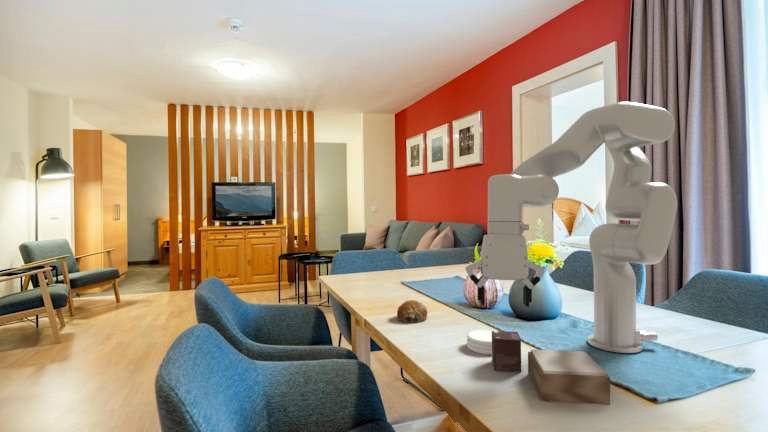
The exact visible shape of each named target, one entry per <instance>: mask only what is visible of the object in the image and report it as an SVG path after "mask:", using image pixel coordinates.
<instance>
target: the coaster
mask: <svg viewBox="0 0 768 432" xmlns="http://www.w3.org/2000/svg"><path fill="white" fill-rule="evenodd" d="M492 331H493V330H492V329H491V330H489V329H475V330H471V331H470V332H468V333H467V335H466V347H467V348H468V350H470V351H471V352H473V353H477V354H480V355H487V356H488V355H489V356H490V355H491V356H492Z"/></svg>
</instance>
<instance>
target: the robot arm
mask: <svg viewBox="0 0 768 432" xmlns="http://www.w3.org/2000/svg"><path fill="white" fill-rule="evenodd" d="M675 129H676V123H675V119H674V116H673V115H672V114H671V112H670V111H669V110H667V109H666V108H662V107H660V106H654V105H649V104H644V103H639V102H633V101H632V102H631V101H620V102H614V103H611V104H607V105H603V106H600V107H597V108H596V107H595V108H592V109H590V110H588V111H586V112H584V113H583V114H582V115H581V116H580V117H579V118H577V120H576V121H575V122H574V123H572V125H570V126H569V128H568V129H566V130H565V132H563V134H561V136H559V138H557V139H556V141H554V142H553V143H551V144H550V145H548V146H546V147H545V148H543V149H541V150H540V151H539V152H537V153H535V154H534V155H532V156H530V157H528V158H527V159H526V160H524V161H523V162H522V163H520V164H519V165H518V166H517V167H516V168H515V169H514V170H512V172H510V174H509V173H505V174H496V175H495V174H494V175H491V176H490V177H489V178H488V180H487V234H484V235H483V238H482V243H481V252H480V253H481V254H480V255H481V256H480V259H479V260H477V261H475V262H473V263H470V264H469V265H467V266H465V268H464V269H465V271H466V273H467V275H468V277H469V279H470V280H471V281H472V282H473V284H474V285H476V286H477V294H476V295H477V301H479V303H480V305H481V306H485V303H486V302H485V301H486V291H485V290H486V288H485V284H486V283H487V282H488V280H490V281H491V280H495V281H496V280H498V281H521V282H522V283H523V284H524V286H523V288H522V304H523V305H524V306H525V307H527V308H529V307H530V303H533V302H532V300H533V298H532V296H533V294H532V293H533V288H534V287H535V286H536V285H537V284H538V283H539V282H540V281H541V278H543V276H544V274H545V272H546V270H545V268H543V267H541V266H539V265H538V264H536V263H534V262H531V261H529V253H528V245H527V240H526V235H523V234H524V232H526V231H529V230H530V225H529V224H526V223H524V222H523V208H544V207H548V206H549V205H552V204H553V203H554V202H555V201H556V200H557V199H558V197H559V194H560V189H559V184H558V182H557V181H556V180H555V179H554V178H555V177H558V176H562V175H565V174H567V173H570V172H572V171H574V170H578V169H579V168H581V167H582V166H583V165H584V164H585V163H586V162H587V161H588V160H589V159H590V158H591V157H592V155H593V154H594V153H595V152H596V151H597V150H599V148H601V146H602V145H603V144H604V145H605V147H606V148H607V149H608V151H609V154H610V156H611V158H612V161H613V173H612V177H611V181H610V183H609V188H608V193H607V195H606V200H605V205H604V206H605V212H606V214H607V216H608V217H610V218H612V219H614V220H618V221H632V222H633V221H635V222H639V224H633V223H632V224H631V223H615V222H613V223H603V224H600V225H598V226H596V227H595V228H594V229H592V231H591V233H590V235H589V239H588V240H589V243H588V244H589V250H590V253H591V254H590V255H591V259H592V266H593V267H592V268H593V333H591V334H589V335H588V336H587V340H586V341H587V343H588V344H589V345H591V346H592V347H594V348H597V349H599V350H603V351H607V352H612V353H619V354H620V353H621V354H637V353H640V352H642V351H643V350H644V343H643V342H644V341H651V342H652V341H654V342H655V341H658V334H657V333H656V332H647V331H646V330H639V329H638V328H637V278H636V274H635V271H634V270H633V267H632V266H631V264H638V265H647V266H649V265H656V264H658V263H660V262H661V261H662V260H663V259H664V257H665V255H666V254H667V251H668V248H669V244H670V242H671V241H670V239H671V236H672V232H673V228H674V223H675V219H676V216H677V210H678V198H677V194H676V192H675V190H674V189H673V187H672V186H670V185H669V184H667V183H664V182H659V181H658V182H657V181H654V182H652V181H651V182H650V180H651V175H652V165H651V162H650V160H649V158H648V157H647V156H646V154H645V153H644V152H643V151H642V150H641V147H645V146H651V145H658V144H661V143H665V142H666V141H669V139H670V138H671V137H672V136H673V135H674V132H675ZM630 263H631V264H630ZM478 268H480V274H481V276H480V277H477V276H476V275H475V273H474V271H475V270H476V269H478ZM530 269H531V270H534V272H535V274H534V276H532V278H530V279H529V274H530V273H529V272H530Z"/></svg>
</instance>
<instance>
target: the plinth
mask: <svg viewBox="0 0 768 432" xmlns="http://www.w3.org/2000/svg"><path fill="white" fill-rule="evenodd" d="M527 375H528V377H529V378H530V381H531V383H532V385H533V387H534V388H535V390H536V392H537V395H538V396H539V399H541V401H542V402H555V403H556V402H558V403H574V404H596V405H597V404H599V405H611V377H610V376H609V375H608V373H607V372H606V371H605V370H604V369H603V368H602V366H600V365H599V364H598V363H597V362H596V361H595V360H594V359H593V358H592V357H591V356H590V355H589V354H588V353H587V352H586V351H585V350H584V351H583V350H581V351H579V350H578V351H577V350H576V351H575V350H553V349H552V350H547V349H530V351H527Z"/></svg>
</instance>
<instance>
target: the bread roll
mask: <svg viewBox="0 0 768 432" xmlns="http://www.w3.org/2000/svg"><path fill="white" fill-rule="evenodd" d="M396 317H397V320H398V321H399V322H401V323H407V324H415V323H421V322H425V320H427V317H428V310H427V307H426V305H424V304H423V303H422V302H420V301H419V300H415V299H411V300H406V301H404V302H403V303H401V305H399V306H398V308H397V313H396Z"/></svg>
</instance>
